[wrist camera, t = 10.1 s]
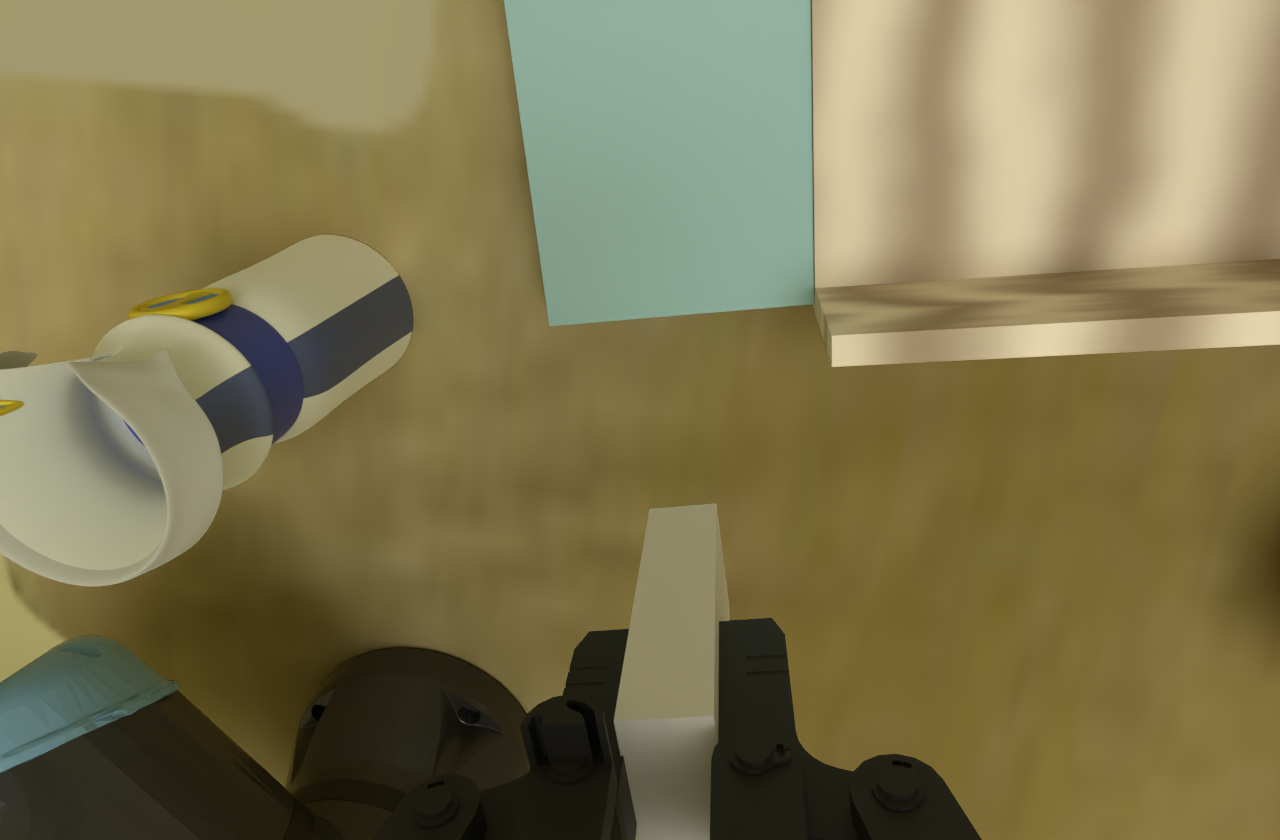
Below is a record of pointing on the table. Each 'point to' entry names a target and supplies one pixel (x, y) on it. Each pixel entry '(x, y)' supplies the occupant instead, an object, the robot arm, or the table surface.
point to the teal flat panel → (667, 153)
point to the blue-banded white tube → (185, 407)
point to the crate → (1044, 177)
